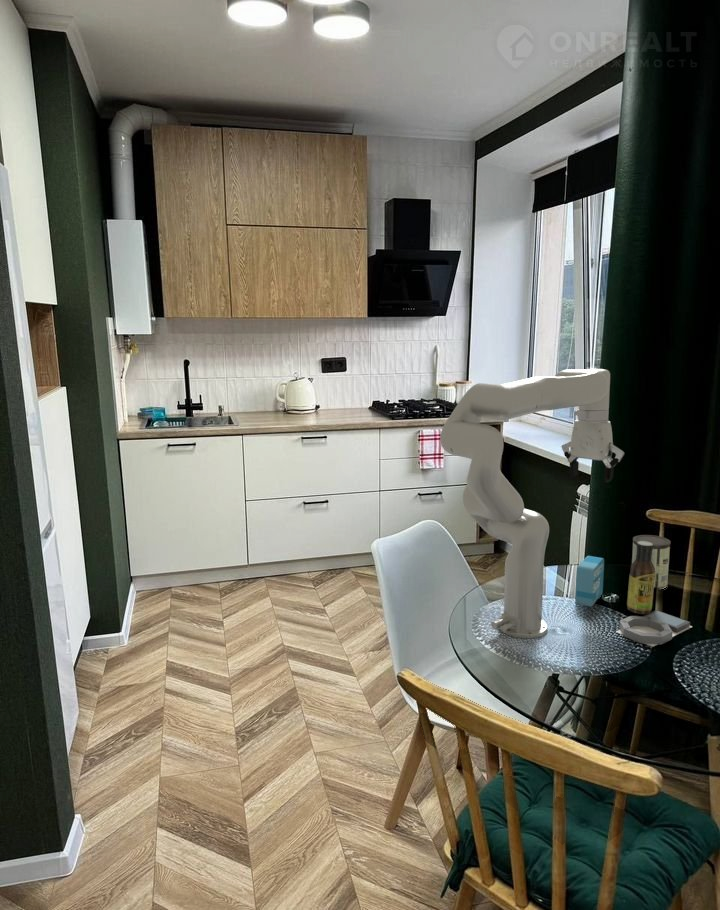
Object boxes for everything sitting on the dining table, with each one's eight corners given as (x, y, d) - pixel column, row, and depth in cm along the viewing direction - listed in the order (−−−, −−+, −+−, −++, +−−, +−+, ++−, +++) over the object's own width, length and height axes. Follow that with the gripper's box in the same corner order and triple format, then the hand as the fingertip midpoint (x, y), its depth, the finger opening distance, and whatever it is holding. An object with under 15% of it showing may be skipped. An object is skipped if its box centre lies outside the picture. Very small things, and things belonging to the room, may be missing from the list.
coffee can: (633, 575, 202) (636, 532, 199) (669, 582, 196) (672, 537, 194) (627, 586, 193) (630, 541, 191) (664, 593, 188) (668, 547, 185)
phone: (676, 632, 161) (677, 628, 160) (643, 620, 168) (643, 615, 168) (689, 626, 164) (689, 621, 164) (656, 614, 171) (656, 609, 171)
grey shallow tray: (653, 653, 153) (654, 640, 153) (611, 635, 162) (612, 624, 162) (694, 631, 164) (695, 620, 163) (653, 616, 173) (653, 605, 172)
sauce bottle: (638, 620, 171) (643, 548, 167) (621, 610, 177) (625, 541, 173) (657, 616, 173) (662, 545, 169) (640, 607, 179) (644, 538, 175)
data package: (591, 611, 177) (593, 569, 175) (574, 607, 179) (576, 566, 177) (602, 596, 187) (604, 556, 184) (586, 593, 189) (588, 554, 187)
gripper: (556, 415, 174) (554, 476, 178) (618, 420, 162) (614, 486, 165) (570, 412, 179) (568, 472, 183) (631, 417, 167) (628, 481, 170)
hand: (590, 478), depth 174 cm, fingers open, 9 cm apart
